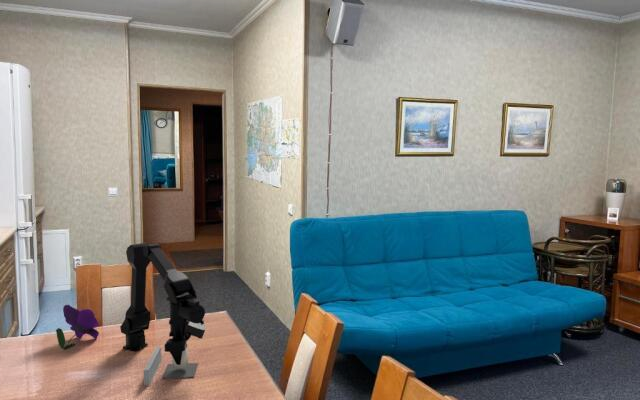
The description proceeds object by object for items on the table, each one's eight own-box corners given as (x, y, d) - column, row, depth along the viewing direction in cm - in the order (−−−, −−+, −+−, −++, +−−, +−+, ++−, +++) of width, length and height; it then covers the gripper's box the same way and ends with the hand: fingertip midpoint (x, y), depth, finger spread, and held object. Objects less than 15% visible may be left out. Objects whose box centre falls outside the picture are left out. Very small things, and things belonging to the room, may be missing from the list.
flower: (87, 363, 181) (108, 334, 192) (72, 335, 173) (94, 307, 183) (53, 359, 184) (75, 331, 195) (37, 331, 176) (60, 304, 187)
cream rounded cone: (169, 367, 163) (168, 349, 162) (179, 361, 167) (179, 344, 167) (181, 370, 161) (180, 352, 160) (191, 364, 165) (190, 346, 165)
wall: (149, 385, 155) (148, 370, 154) (144, 385, 154) (143, 370, 154) (161, 360, 172) (161, 346, 172) (157, 360, 172) (156, 346, 172)
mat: (161, 378, 159) (161, 377, 159) (168, 365, 169) (168, 363, 169) (193, 377, 160) (193, 376, 160) (197, 364, 170) (197, 362, 170)
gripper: (200, 325, 154) (201, 373, 156) (207, 305, 172) (208, 348, 174) (163, 326, 153) (164, 374, 154) (174, 306, 171) (175, 349, 173)
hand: (180, 361), depth 164 cm, fingers closed on cream rounded cone, 5 cm apart
